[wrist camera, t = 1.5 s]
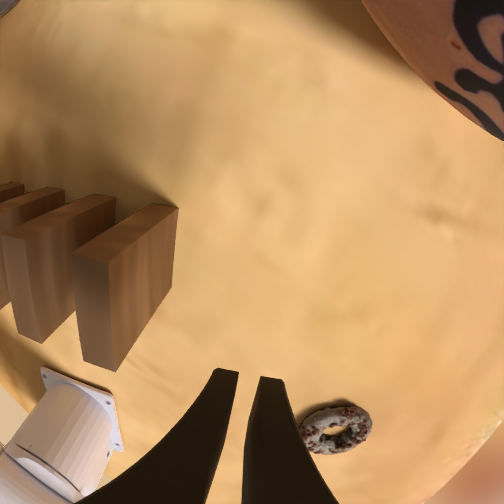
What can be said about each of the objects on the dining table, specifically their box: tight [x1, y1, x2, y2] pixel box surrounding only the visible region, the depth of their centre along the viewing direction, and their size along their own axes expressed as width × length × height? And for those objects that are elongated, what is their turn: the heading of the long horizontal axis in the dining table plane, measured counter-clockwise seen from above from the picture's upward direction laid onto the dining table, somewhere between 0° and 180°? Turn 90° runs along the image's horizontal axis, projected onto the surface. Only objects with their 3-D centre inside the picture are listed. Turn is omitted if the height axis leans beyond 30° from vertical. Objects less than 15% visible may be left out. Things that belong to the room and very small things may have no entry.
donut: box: [299, 406, 372, 455], centre depth 22 cm, size 8×8×2 cm
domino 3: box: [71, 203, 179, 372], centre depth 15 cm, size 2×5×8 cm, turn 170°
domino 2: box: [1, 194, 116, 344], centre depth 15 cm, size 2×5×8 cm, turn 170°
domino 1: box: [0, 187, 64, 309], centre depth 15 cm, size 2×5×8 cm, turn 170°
